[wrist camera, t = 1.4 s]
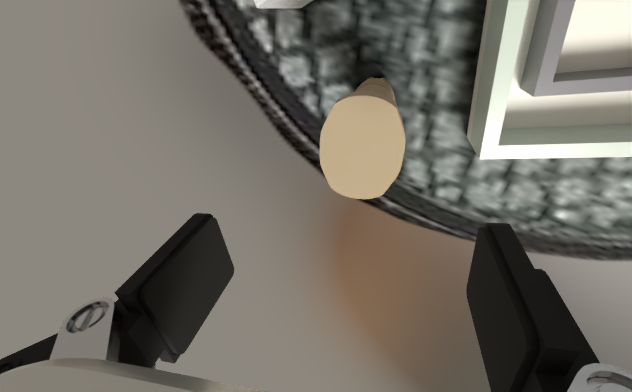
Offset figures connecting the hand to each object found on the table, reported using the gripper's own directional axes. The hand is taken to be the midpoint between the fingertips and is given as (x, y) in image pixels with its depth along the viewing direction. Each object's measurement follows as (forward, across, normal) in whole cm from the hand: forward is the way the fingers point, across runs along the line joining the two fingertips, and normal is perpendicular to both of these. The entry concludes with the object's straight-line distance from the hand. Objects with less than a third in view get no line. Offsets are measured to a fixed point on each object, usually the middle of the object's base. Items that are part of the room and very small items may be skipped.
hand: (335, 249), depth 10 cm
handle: (+23, 0, -1) cm, 23 cm away
